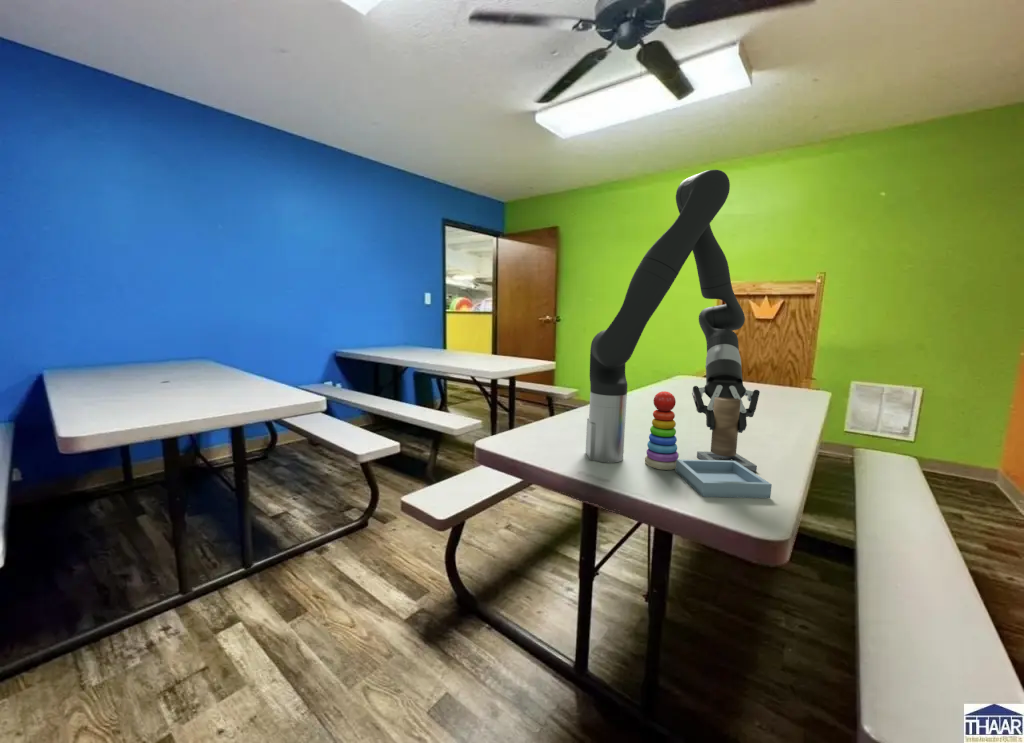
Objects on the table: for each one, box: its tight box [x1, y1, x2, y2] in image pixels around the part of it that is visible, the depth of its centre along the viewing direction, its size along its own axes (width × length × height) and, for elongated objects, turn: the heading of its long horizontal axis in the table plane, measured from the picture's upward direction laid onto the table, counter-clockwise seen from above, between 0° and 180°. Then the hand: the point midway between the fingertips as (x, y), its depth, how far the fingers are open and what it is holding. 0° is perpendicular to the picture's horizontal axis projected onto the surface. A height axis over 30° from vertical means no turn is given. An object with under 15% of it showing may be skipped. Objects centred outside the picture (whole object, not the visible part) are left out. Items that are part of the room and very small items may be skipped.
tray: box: [675, 458, 772, 499], centre depth 91 cm, size 14×14×3 cm
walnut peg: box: [710, 397, 742, 456], centre depth 89 cm, size 5×5×12 cm
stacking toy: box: [644, 391, 680, 471], centre depth 101 cm, size 8×8×19 cm
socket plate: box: [696, 451, 758, 473], centre depth 104 cm, size 10×10×2 cm
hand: (726, 429), depth 87 cm, fingers closed on walnut peg, 5 cm apart
